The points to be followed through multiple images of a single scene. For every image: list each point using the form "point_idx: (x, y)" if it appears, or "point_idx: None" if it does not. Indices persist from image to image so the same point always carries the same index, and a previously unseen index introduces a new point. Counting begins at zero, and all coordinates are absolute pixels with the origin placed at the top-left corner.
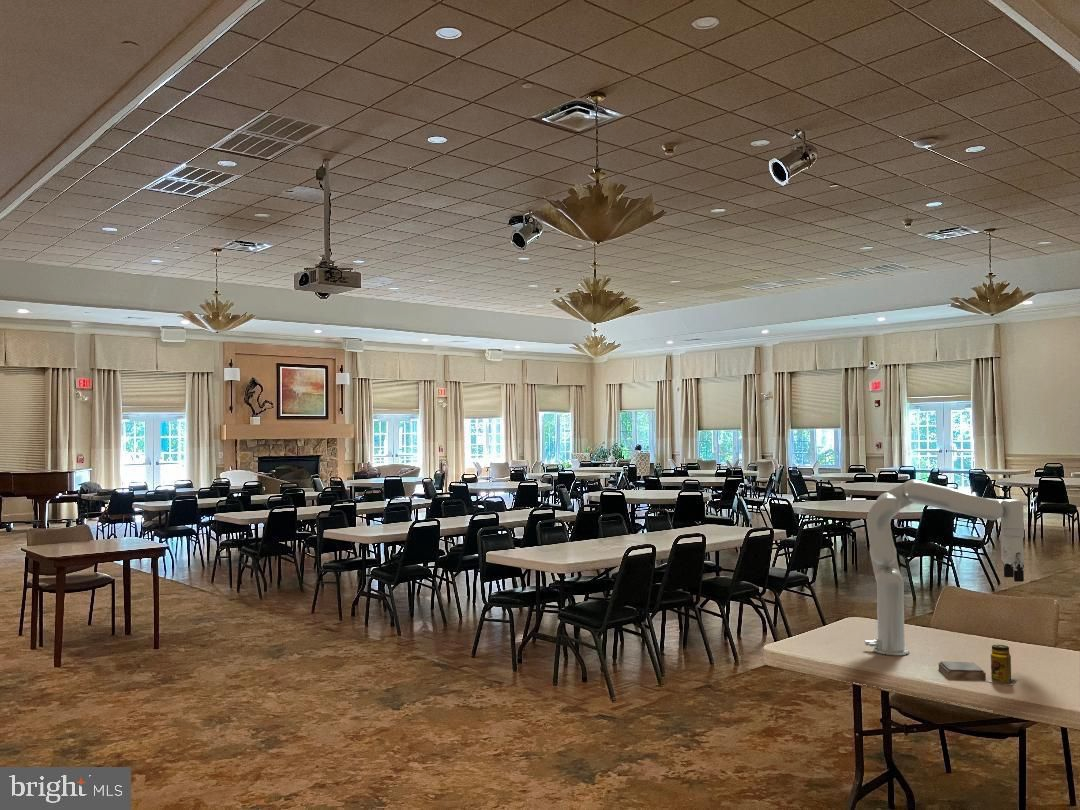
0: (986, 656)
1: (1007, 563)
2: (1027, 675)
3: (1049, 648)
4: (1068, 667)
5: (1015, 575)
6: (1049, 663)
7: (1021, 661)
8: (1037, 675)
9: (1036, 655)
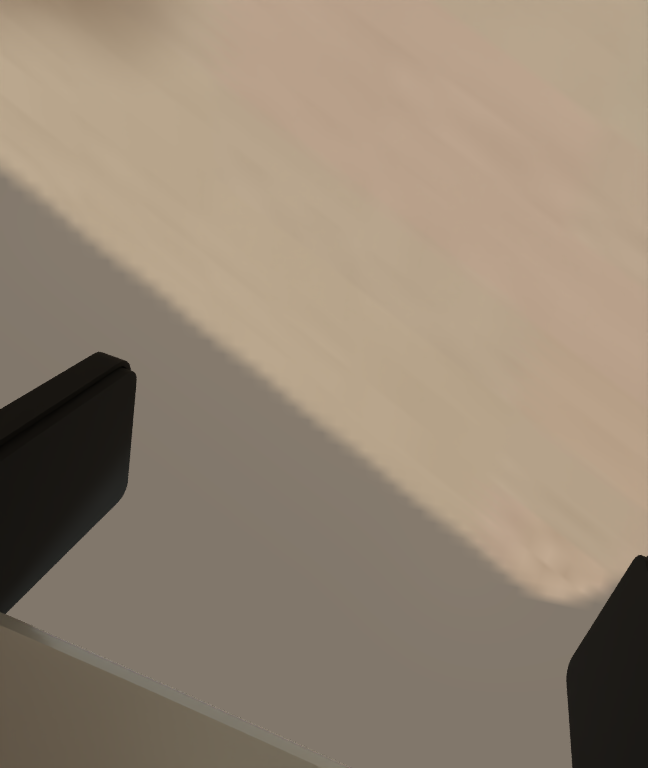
0: (593, 68)
1: (67, 645)
2: (143, 52)
3: None
4: (274, 371)
5: (19, 418)
6: (354, 340)
7: (419, 222)
8: (144, 111)
9: (522, 396)
